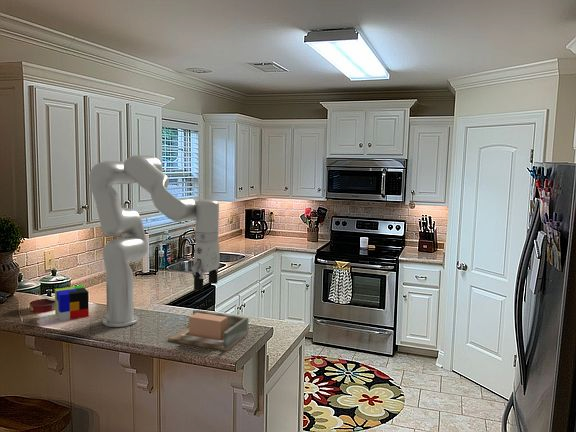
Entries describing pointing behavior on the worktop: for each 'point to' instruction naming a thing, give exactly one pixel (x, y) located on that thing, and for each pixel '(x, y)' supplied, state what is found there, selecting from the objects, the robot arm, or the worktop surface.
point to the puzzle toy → (71, 303)
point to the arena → (234, 334)
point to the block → (207, 326)
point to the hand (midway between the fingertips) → (205, 286)
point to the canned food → (42, 305)
